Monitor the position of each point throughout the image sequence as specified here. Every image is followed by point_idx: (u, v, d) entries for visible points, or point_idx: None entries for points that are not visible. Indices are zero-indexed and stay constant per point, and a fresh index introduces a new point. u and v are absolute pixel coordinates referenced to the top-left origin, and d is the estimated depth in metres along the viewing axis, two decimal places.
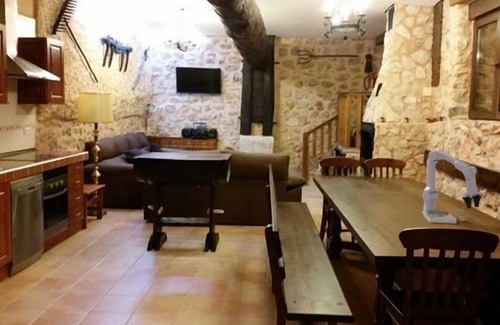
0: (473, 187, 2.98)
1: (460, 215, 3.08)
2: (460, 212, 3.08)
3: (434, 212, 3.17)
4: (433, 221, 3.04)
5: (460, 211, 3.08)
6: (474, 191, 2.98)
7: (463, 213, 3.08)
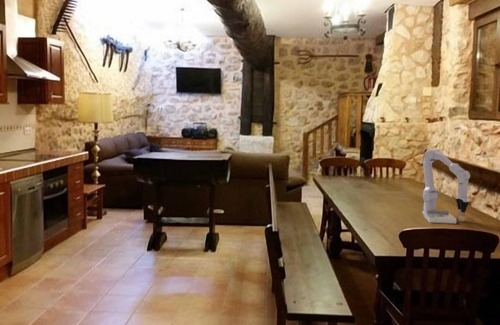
0: (467, 192, 3.06)
1: (460, 215, 3.08)
2: (460, 212, 3.08)
3: (434, 212, 3.17)
4: (433, 221, 3.04)
5: (460, 211, 3.08)
6: None
7: (463, 213, 3.08)
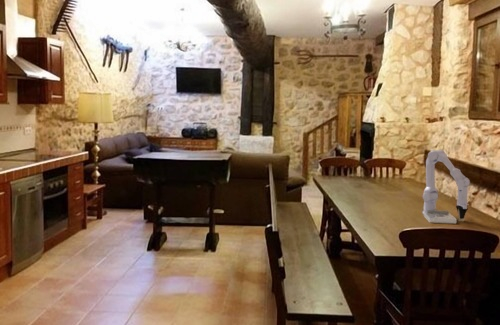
0: (466, 198, 3.07)
1: None
2: None
3: (434, 212, 3.17)
4: (433, 221, 3.04)
5: None
6: (466, 202, 3.07)
7: None
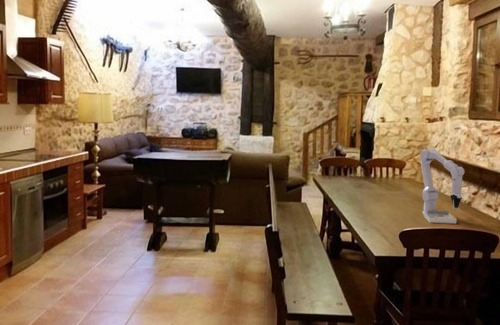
0: None
1: None
2: None
3: (434, 212, 3.17)
4: (433, 221, 3.04)
5: None
6: None
7: None
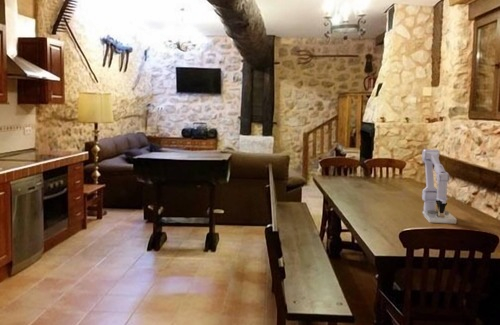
0: (446, 193, 3.06)
1: None
2: None
3: (434, 212, 3.17)
4: (433, 221, 3.04)
5: None
6: None
7: None
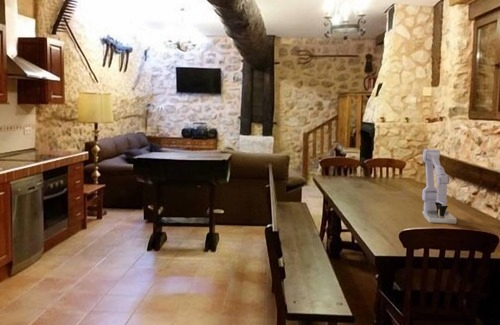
0: (446, 195, 3.07)
1: None
2: None
3: (434, 212, 3.17)
4: (433, 221, 3.04)
5: None
6: None
7: None
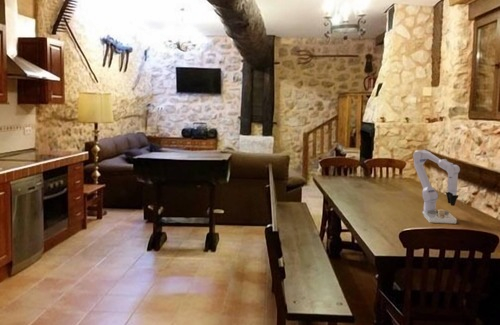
0: (456, 185, 3.11)
1: (440, 215, 3.08)
2: (440, 212, 3.08)
3: (434, 212, 3.17)
4: (433, 221, 3.04)
5: (440, 211, 3.08)
6: (456, 189, 3.12)
7: (443, 213, 3.08)
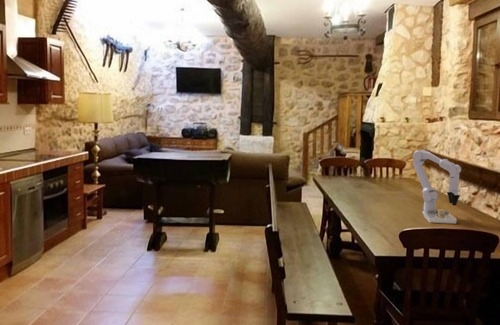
0: (458, 185, 3.12)
1: (440, 215, 3.08)
2: (440, 212, 3.08)
3: (434, 212, 3.17)
4: (433, 221, 3.04)
5: (440, 211, 3.08)
6: None
7: (443, 213, 3.08)
